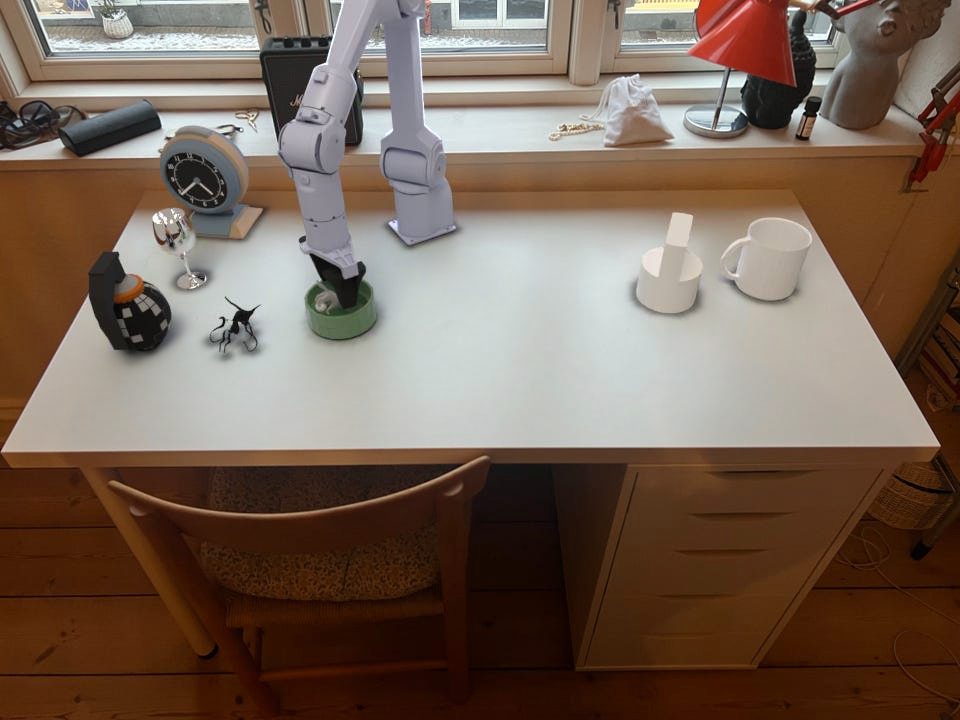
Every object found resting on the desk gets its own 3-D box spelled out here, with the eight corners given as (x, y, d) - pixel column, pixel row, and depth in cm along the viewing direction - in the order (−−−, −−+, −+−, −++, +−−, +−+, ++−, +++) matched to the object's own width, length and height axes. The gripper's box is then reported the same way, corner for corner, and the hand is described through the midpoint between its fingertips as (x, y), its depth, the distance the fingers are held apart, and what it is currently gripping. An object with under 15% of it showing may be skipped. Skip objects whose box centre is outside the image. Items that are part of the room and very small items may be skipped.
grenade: (162, 372, 97) (124, 286, 87) (95, 372, 98) (48, 286, 87) (188, 319, 106) (156, 235, 95) (126, 319, 106) (87, 235, 96)
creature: (250, 365, 100) (276, 322, 104) (236, 343, 95) (264, 299, 100) (203, 353, 102) (230, 312, 106) (187, 331, 97) (217, 288, 101)
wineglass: (199, 293, 110) (176, 228, 102) (166, 289, 111) (140, 224, 103) (216, 272, 114) (195, 207, 106) (184, 268, 115) (161, 204, 107)
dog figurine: (336, 332, 104) (365, 309, 104) (300, 299, 99) (331, 275, 98) (331, 321, 107) (360, 298, 106) (296, 288, 101) (326, 264, 101)
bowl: (360, 291, 110) (356, 268, 107) (388, 326, 104) (385, 302, 101) (300, 312, 107) (294, 289, 104) (325, 350, 100) (319, 326, 97)
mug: (790, 270, 113) (808, 221, 107) (796, 305, 107) (815, 254, 100) (714, 262, 115) (727, 212, 109) (715, 295, 109) (729, 244, 102)
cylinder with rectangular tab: (691, 318, 105) (708, 251, 97) (631, 306, 107) (643, 240, 99) (697, 283, 111) (714, 218, 103) (640, 273, 113) (652, 208, 105)
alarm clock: (170, 234, 123) (135, 139, 111) (194, 205, 130) (164, 112, 118) (248, 239, 121) (221, 143, 109) (268, 210, 128) (245, 116, 116)
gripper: (275, 195, 96) (295, 275, 105) (315, 246, 87) (332, 329, 96) (324, 181, 98) (338, 260, 108) (367, 229, 89) (379, 312, 98)
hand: (338, 292), depth 102 cm, fingers open, 7 cm apart
